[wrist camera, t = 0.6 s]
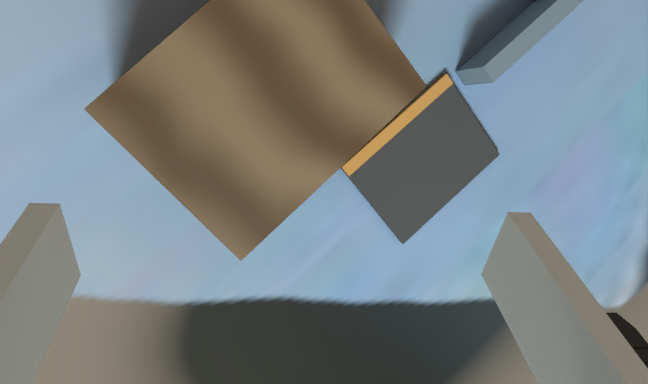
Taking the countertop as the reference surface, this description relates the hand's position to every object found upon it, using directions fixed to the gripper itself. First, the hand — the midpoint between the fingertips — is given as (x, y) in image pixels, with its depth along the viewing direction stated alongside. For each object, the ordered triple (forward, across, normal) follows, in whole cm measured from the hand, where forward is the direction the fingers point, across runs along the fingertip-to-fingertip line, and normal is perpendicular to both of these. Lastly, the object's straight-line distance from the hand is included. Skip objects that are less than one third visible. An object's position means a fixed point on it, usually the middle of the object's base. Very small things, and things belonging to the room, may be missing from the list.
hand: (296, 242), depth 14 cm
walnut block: (+22, -2, -6) cm, 23 cm away
